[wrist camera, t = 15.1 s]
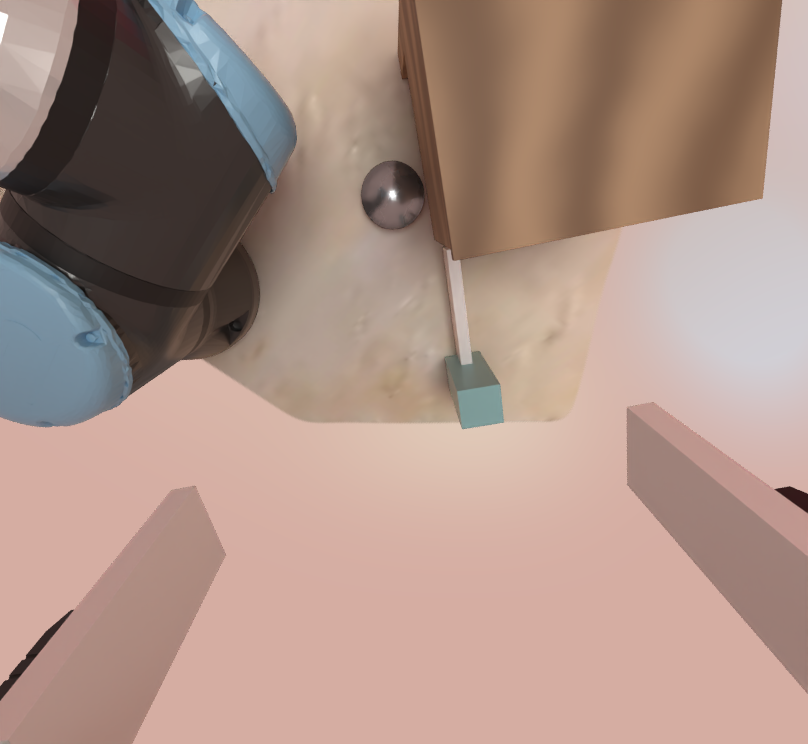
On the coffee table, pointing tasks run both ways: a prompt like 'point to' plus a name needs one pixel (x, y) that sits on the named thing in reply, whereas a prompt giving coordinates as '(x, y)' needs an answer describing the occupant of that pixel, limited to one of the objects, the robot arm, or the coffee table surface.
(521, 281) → the coffee table surface
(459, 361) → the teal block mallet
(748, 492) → the robot arm
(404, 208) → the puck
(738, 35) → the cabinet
